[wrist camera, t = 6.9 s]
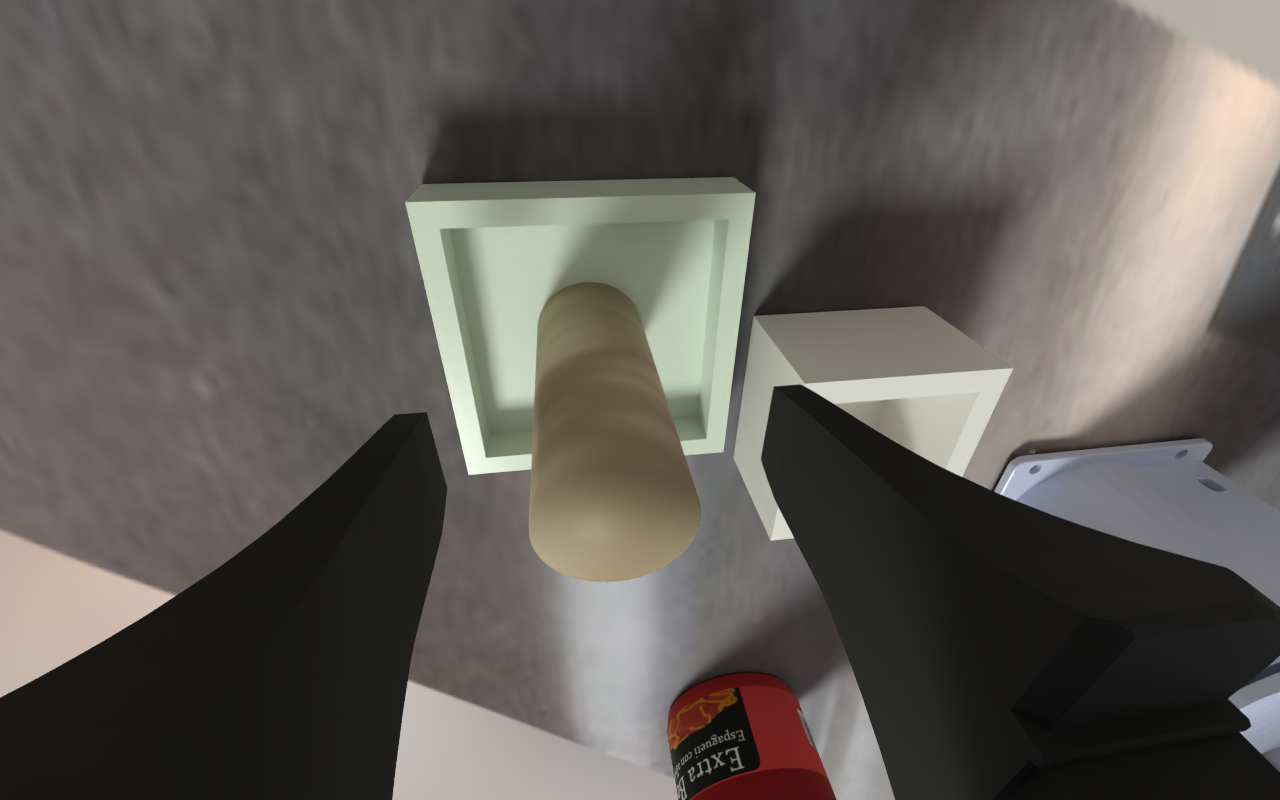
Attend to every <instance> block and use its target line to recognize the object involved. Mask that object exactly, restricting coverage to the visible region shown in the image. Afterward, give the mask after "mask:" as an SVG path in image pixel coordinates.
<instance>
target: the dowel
mask: <svg viewBox="0 0 1280 800" xmlns="http://www.w3.org/2000/svg"><path fill="white" fill-rule="evenodd" d="M700 521H701V506H700V501H699V498H698V495H697V492H696V489H695V486H694V483H693V480H692V477H691V474H690V471H689V467H688V464H687V461H686V458H685V455H684V452H683V449H682V446H681V443H680V440H679V437H678V433H677V430H676V427H675V424H674V421H673V418H672V415H671V412H670V409H669V406H668V403H667V399H666V396H665V393H664V390H663V387H662V384H661V381H660V378H659V375H658V372H657V368H656V365H655V362H654V359H653V356H652V353H651V350H650V347H649V344H648V341H647V338H646V334H645V331H644V328H643V325H642V322H641V319H640V316H639V313H638V311H637V309H636V307H635V305H634V304H633V302H632V301H631V300H630V299H629V298H628V297H627V296H626V295H625V294H624V293H623V292H621V291H620V290H618V289H616V288H615V287H612V286H610V285H607V284H603V283H597V282H583V283H577V284H573V285H571V286H568V287H566V288H564V289H562V290H560V291H559V292H557V293H556V294H555V295H554V296H552V297H551V298H550V299H549V301H548V302H547V303H546V304H545V306H544V308H543V309H542V311H541V314H540V316H539V320H538V327H537V349H536V372H535V395H534V418H533V441H532V464H531V486H530V509H529V537H530V540H531V544H532V546H533V548H534V550H535V552H536V553H537V554H538V556H539V557H540V558H541V559H542V560H543V561H544V562H545V563H546V564H547V565H549V566H550V567H551V568H553V569H554V570H556V571H558V572H560V573H562V574H565V575H567V576H569V577H573V578H576V579H581V580H586V581H594V582H614V581H623V580H629V579H633V578H637V577H641V576H644V575H647V574H649V573H652V572H654V571H656V570H658V569H660V568H662V567H664V566H666V565H667V564H669V563H670V562H672V561H673V560H675V559H676V558H677V557H678V556H680V555H681V554H682V553H683V552H684V551H685V550H686V549H687V548H688V546H689V545H690V544H691V542H692V541H693V539H694V538H695V536H696V534H697V532H698V529H699V526H700Z"/></svg>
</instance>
